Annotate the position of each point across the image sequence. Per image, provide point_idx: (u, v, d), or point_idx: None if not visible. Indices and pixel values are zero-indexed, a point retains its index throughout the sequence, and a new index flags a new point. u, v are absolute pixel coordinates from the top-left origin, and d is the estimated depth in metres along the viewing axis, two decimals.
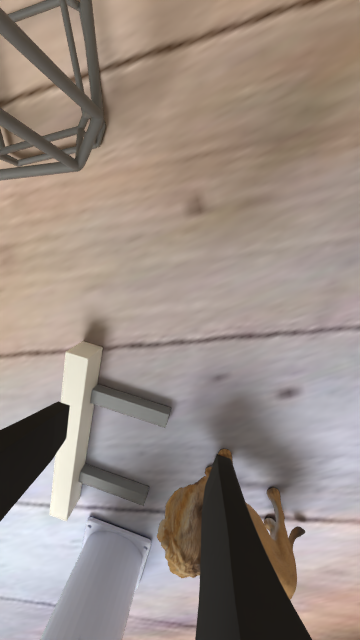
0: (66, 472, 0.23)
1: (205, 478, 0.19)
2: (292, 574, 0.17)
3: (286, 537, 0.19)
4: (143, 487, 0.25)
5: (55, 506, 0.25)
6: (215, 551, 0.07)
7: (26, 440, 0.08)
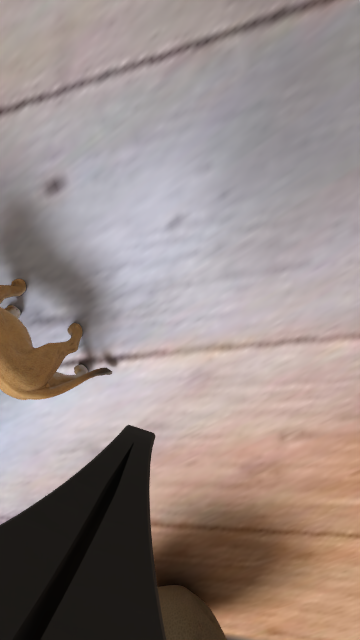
0: None
1: None
2: (30, 368, 0.15)
3: (52, 348, 0.17)
4: None
5: None
6: None
7: (116, 472, 0.08)
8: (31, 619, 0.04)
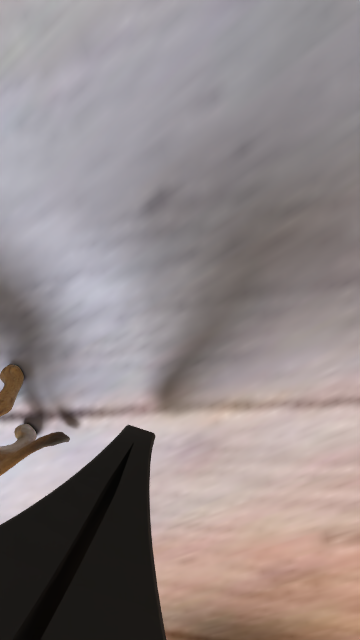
0: None
1: None
2: None
3: None
4: None
5: None
6: None
7: (116, 472, 0.08)
8: (31, 619, 0.04)
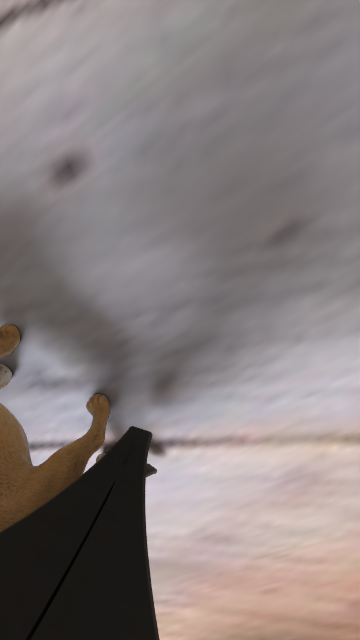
0: None
1: None
2: None
3: (65, 463, 0.09)
4: None
5: None
6: None
7: None
8: None
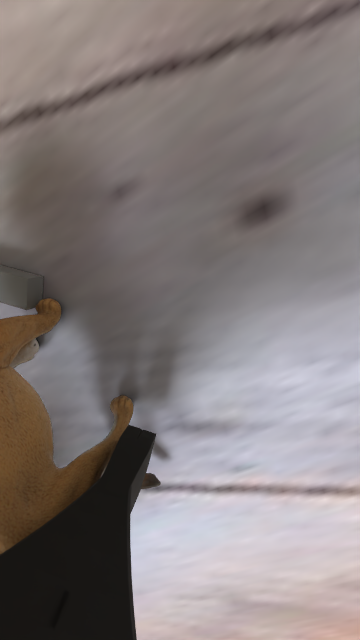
0: None
1: None
2: None
3: (89, 471, 0.09)
4: None
5: None
6: None
7: (135, 478, 0.08)
8: None
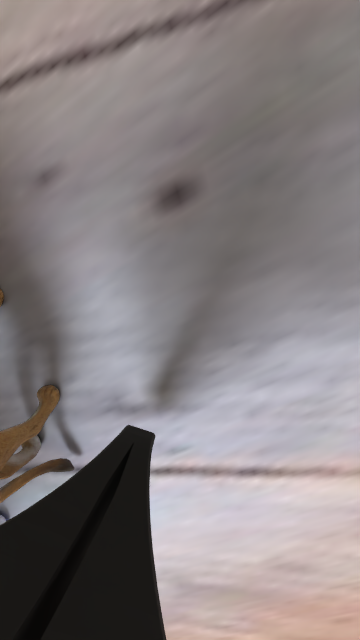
0: None
1: None
2: None
3: None
4: None
5: None
6: None
7: (116, 472, 0.08)
8: (31, 619, 0.04)
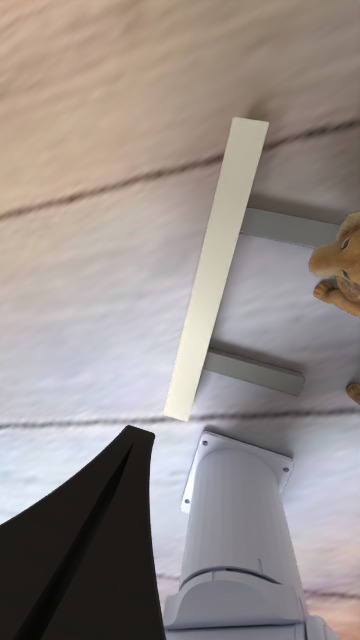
0: (200, 337, 0.16)
1: None
2: None
3: None
4: (294, 372, 0.18)
5: (173, 398, 0.18)
6: None
7: (116, 472, 0.08)
8: (31, 619, 0.04)
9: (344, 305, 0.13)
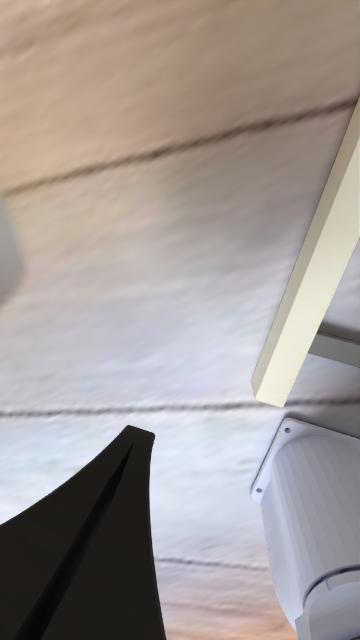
0: (312, 314, 0.14)
1: None
2: None
3: None
4: None
5: (270, 382, 0.16)
6: None
7: (116, 472, 0.08)
8: (31, 619, 0.04)
9: None
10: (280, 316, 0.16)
